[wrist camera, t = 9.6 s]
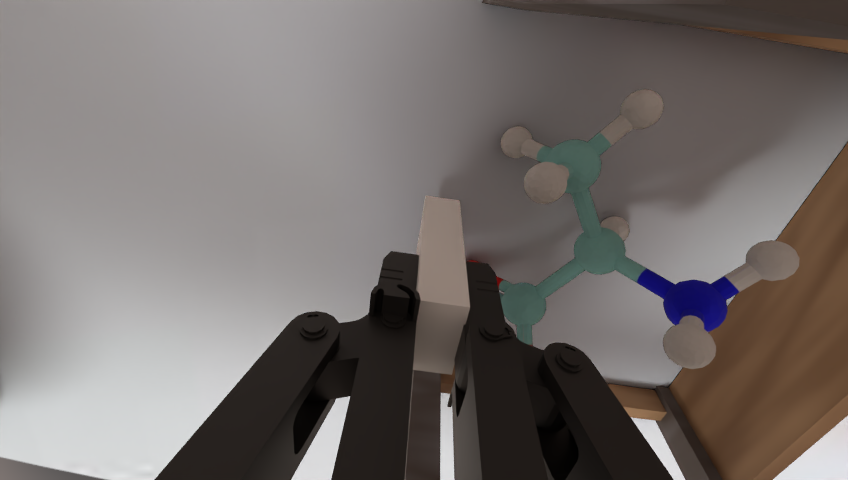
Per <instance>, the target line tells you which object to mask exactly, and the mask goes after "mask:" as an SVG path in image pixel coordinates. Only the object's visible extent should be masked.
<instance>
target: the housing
mask: <svg viewBox="0 0 848 480" xmlns="http://www.w3.org/2000/svg"><path fill="white" fill-rule="evenodd" d="M482 3H486V4H492V5H498V6H504V7H509V8H515V9H521V10H529V11H539V12H550V13H561V14H572V15H583V16H593V17H604V18H615V19H626V20H637V21H647V22H658V23H669V24H679V25H685V26H691V27H696V28H702V29H708V30H714V31H719V32H725V33H731V34H737V35H743V36H748V37H754V38H760V39H766V40H771V41H777V42H783V43H789V44H795V45H800V46H806V47H812V48H818V49H824V50H829V51H835V52H841V53H847V54H848V0H483V2H482ZM776 241H779V242H783V243H786V244H788V245H790V246H791V247H792V248H793V249H794V250H796V252H797V254H798V256H799V267H798V269H797V270H796V272H795V273H794V274H793V275H791V276H789V277H788V278H786V279H783V280H776V281H769V280H764V279H761V280H759V281H758V282H756V283H754V284H753V285H751V286H749V287H747V288H746V289H744V290H742V291H741V292H739V293H738V294H737V295H736V296H735V298H734V299H733V300H732V302H731V303H730V304H729V306H728V307H727V310H728V311H727V315H726V319H725V320H724V321H723V322H722V324H721V325H720V326H719V327H717V328H715V329H714V330H712V331H710V332H709V334H710V335H711V336H712V338H713V340H714V343H715V345H716V354H715V357H714V358H713V360H712V361H711V362H710V363H709V364H708V365H706V366H705V367H703V368H696V369H689V368H685V367H683V369H682V370H681V371H680V373H679V374H678V376H677V377H676V378H675V380H674V381H673V382H672V384H671V385H670V386H669V388H667V387H659V386H657V387H656V389H655V390H651V389H643V388H636V387H628V386H621V385H613V384H608V386H609V387H610V389H611V390H612V392H613V393H614V395H615V396H616V397H617V399H618V400H619V402H620V403H621V405H622V406H623V408H624V409H625V410H626V412H627V413H628V415H629V416H630V417H633V418H641V419H649V420H655V421H656V423H657V425H658V426H659V428H660V430H661V432H662V434H663V436H664V438H665V440H666V442H667V444H668V446H669V448H670V450H671V452H672V454H673V456H674V458H675V460H676V462H677V464H678V466H679V468H680V470H681V472H682V474H683V476H684V478H685V480H773V479H774V478H775V477H776V476H777V475H778V474H780V473H781V472H782V471H783V470H784V469H785V468H787V467H788V466H789V465H790V464H791V463H792V462H794V461H795V460H796V459H797V458H798V457H799V456H801V455H802V454H803V453H804V452H805V451H807V450H808V449H809V448H810V447H811V446H812V445H814V444H815V443H816V442H817V441H818V440H819V439H821V438H822V437H823V436H824V435H825V434H826V433H828V432H829V431H830V430H831V429H832V428H833V427H835V426H836V425H837V424H838V423H839V422H840V421H842V420H843V419H844V418H845V417H846V416H847V415H848V143H847V144H846V146H845V147H844V148H843V150H842V151H841V153H840V154H839V155H838V157H837V158H836V159H835V161H834V162H833V163H832V165H831V166H830V168H829V169H828V170H827V172H826V173H825V174H824V176H823V177H822V179H821V180H820V181H819V183H818V184H817V185H816V187H815V188H814V189H813V191H812V192H811V194H810V195H809V196H808V198H807V199H806V200H805V202H804V203H803V205H802V206H801V207H800V209H799V210H798V211H797V213H796V214H795V215H794V217H793V218H792V220H791V221H790V222H789V224H788V225H787V226H786V228H785V229H784V231H783V232H782V233H781V235H780V236H779V237H778V239H777V240H776ZM454 380H455V365H454V368H453V372H452V375H450V374H442V373H434V372H426V371H419V370H413V375H412V389H411V402H410V415H409V428H408V441H407V454H406V467H405V480H440V397H441V393H449V394H451V390H452V387H453V383H454Z"/></svg>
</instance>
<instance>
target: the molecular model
mask: <svg viewBox="0 0 848 480" xmlns="http://www.w3.org/2000/svg"><path fill="white" fill-rule="evenodd" d="M663 108H664V106H663V100H662V98H661V96H660V95H659V94H657V93H656V92H654V91H652V90H647V89H643V90H638V91H635V92H633V93H631V94H630V95H629V96H627V97H626V99H625V100H624V101H623V103H622V105H621V108H620V116H618V117H617V118H616V119H615V120H614V121H612V122H611V123H610V124H609V125H608V126H606V127H605V128H604V129H603V130H602V131H600V132H599V133H598V134H597V135H595V136H594V137H593V138H592V139H591V140H589V141H588V142H586V141H582V140H567V141H564V142H562V143H560V144H558V145H557V146H555V147H554V148H550V147H548V146H545V145H543V144H541V143H538V142H536V141H533V139H532V135H531V133H530V132H529V131H528V130H527V129H526V128H524V127H520V126H516V127H512V128H510V129H508V130H507V131H506V132H505V133H504V134H503V136H502V139H501V148H502V150H503V152H504V153H505V154H506V155H507V156H508V157H511V158H521V157H523V156H525V155H526V156H528V157H530V158H532V159H534V160H536V161H539V162H541V163H538V164H536V165H534V166H533V167H531V168H530V169H529V170H528V172H527V173H526V175H525V178H524V189H525V192H526V194H527V195H528V196H529V197H530V199H531V200H533V201H535V202H537V203H543V204H547V203H552V202H554V201H556V200H558V199H559V198H560V197H561V196H562V195H563V194H564V193H571V195H572V198H573V201H574V204H575V207H576V210H577V213H578V216H579V219H580V222H581V225H582V228H583V231H584V232H583V233H582V234H581V235H580V236H579V237H578V238H577V240H576V242H575V245H574V255H575V258H574V259H573V260H572V261H570V262H569V263H567V264H566V265H565V266H563V267H562V268H561V269H559V270H558V271H556V272H555V273H554V274H552V275H551V276H549V277H548V278H547V279H545V280H544V281H543V282H541V283H540V284H538V285H537V286H534V285H532V284H529V283H517V284H512V283H510V282H508V281H506V280H503V279H501V278H499V277H497V276H496V279H497V285H498V289H499V290H501V291H503V292H505V293H504V295H503V294H501V293H500V298H501V303H502V308H503V313H504V315H505V317H506V318H507V319H508V320H509V321H510V322H512V323H513V324H515V325H517V339H519V340H520V341H522V342H524V343H526V344H528V345H530V346H533V345H532V325H534V324H536V323H537V322H539V321H540V320H541V319H542V317H543V316H544V314H545V311H546V301H545V298H546V297H548V296H549V295H551V294H552V293H553V292H555V291H556V290H558V289H559V288H561V287H562V286H564V285H565V284H566V283H568V282H569V281H571V280H572V279H574V278H575V277H577V276H578V275H579V274H581V273H582V272H584V271H585V270H586V271H588V272H590V273H593V274H606V273H610V272H612V271H614V270H616V271H618V272H620V273H621V274H623V275H625V276H626V277H628V278H630V279H631V280H633V281H635V282H636V283H638V284H640V285H641V286H643V287H645V288H646V289H648V290H650V291H651V292H653V293H655V294H656V295H658V296H660V297H661V298H663V299H664V302H663V305H664V310H665V313H666V315H667V317H668V319H669V320H670V321H671V322H672V323H673V324H674V325H675V326H673V327H671V328H670V329H669V330H668V331H667V332H666V334H665V336H664V339H663V346H664V351H665V353H666V354H667V356H668V357H669V359H671V360H672V361H673V362H674V363H676V364H677V365H679V366H681V367H685V368H689V369H696V368H703V367H705V366H706V365H708V364H709V363H710V362H711V361H712V360H713V358H714V357H715V354H716V345H715V343H714V340H713V338H712V336H711V335H710V334H709V333H708V332H710V331H712V330H714V329H715V328H717V327H719V326H720V325H721V324H722V322H723V321H724V320H725V319H726V315H727V311H728V310H727V304H726V300H727V299H729V298H731V297H732V296H734V295H736V294H738V293H739V292H741V291H742V290H744V289H746V288H747V287H749V286H751V285H753V284H754V283H756V282H758V281H759V280H761V279H764V280H769V281H776V280H783V279H786V278H788V277H789V276H791V275H793V274H794V273H795V272H796V270H797V269H798V267H799V256H798V254H797V252H796V250H794V249H793V248H792V247H791V246H790V245H788V244H786V243H783V242H779V241H772V240H770V241H764V242H760V243H758V244H756V245H754V246H753V247H751V248H750V249H749V251H748V253H747V254H746V263H745V264H743V265H742V266H740V267H738V268H737V269H735V270H733V271H732V272H730V273H728V274H727V275H725V276H723V277H722V278H720V279H719V280H717V281H715V282H714V283H712V284H709V283H707V282H703V281H698V280H689V281H682V282H679V283H677V284H676V285H675V284H673V283H672V282H670V281H668V280H666V279H665V278H663V277H661V276H659V275H657V274H656V273H654V272H652V271H650V270H649V269H647V268H645V267H643V266H642V265H640V264H638V263H636V262H634V261H633V260H631V259H629V258H627V257H626V256H625V252H626V249H625V245H624V242H623V241H624V240H625V239H626V238H627V237H628V235H629V232H630V229H629V225H628V223H627V222H626V220H624V219H623V218H621V217H617V216H612V217H608V218H606V219H604V220H603V221H602V222H601V224H600V223H599V220H598V216H597V213H596V210H595V207H594V204H593V200H592V197H591V194H590V191H589V187H590V186H591V185H592V184H593V183H594V182H595V181H596V180H597V178H598V176H599V173H600V170H601V160H600V155H601V154H602V153H603V152H605V151H606V150H607V149H608V148H610V147H611V146H612V145H613V144H615V143H616V142H617V141H618V140H620V139H621V138H622V137H623V136H625V135H626V134H627V133H628V132H630V131H631V130H632V129H644V128H647V127H650V126H652V125H653V124H655V123H656V122H657V121H658V120H659V119H660V117H661V115H662V112H663ZM469 261H471V262H478V261H474V260H469ZM478 263H480V262H478Z"/></svg>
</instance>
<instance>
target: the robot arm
mask: <svg viewBox="0 0 848 480" xmlns="http://www.w3.org/2000/svg"><path fill="white" fill-rule="evenodd" d="M454 365H455V380H454V383H453V387H452V390H451V394H450V398H449V401H448V406H447V407H451V406H452V408H453V443H454V478H455V480H673V478H672V477H671V475H670V474H669V472H668V471H667V469H666V468H665V467H664V465H663V464H662V462H661V461H660V459H659V458H658V457H657V455H656V454H655V452H654V451H653V449H652V448H651V446H650V445H649V444H648V442H647V441H646V439H645V438H644V436H643V435H642V433H641V432H640V431H639V429H638V428H637V426H636V425H635V423H634V422H633V420H632V419H631V418H630V416H629V415H628V413H627V412H626V410H625V409H624V408H623V406H622V405H621V403H620V402H619V400H618V399H617V397H616V396H615V395H614V393H613V392H612V390H611V389H610V387H609V386H608V384H607V383H606V382H605V380H604V379H603V377H602V376H601V374H600V373H599V371H598V370H597V369H596V367H595V366H594V364H593V363H592V361H591V360H590V359H589V358H588V357H587V356H586V355H585V353H584V352H582V351H581V350H579V349H578V348H576V347H574V346H571V345H569V344H566V343H553V344H549V345H548V346H547V347H546V348H545V350H544V351H543V350H541V349H538V348H536V347H533V346H530V345H528V344H526V343H524V342H522V341H520V340H519V339H517V338H516V335H515V333H514V331H513V329H512V328H511V327H510V326H509V325H508V324H507V323H506V322H505V318H504V313H503V308H502V303H501V298H500V293H499V289H498V285H497V279H496V274H495V272H494V271H493V270H492V268H491V267H490V266H489V265H488V264H485V263H478V262H471V261H466V259H465V249H464V239H463V228H462V218H461V208H460V201H459V200H453V199H446V198H439V197H432V196H426V195H425V201H424V207H423V214H422V220H421V226H420V232H419V239H418V245H417V251H416V255H415V254H408V253H401V252H393V251H391V252H390V253H389V254H388V255H387V256H386V257H385V258H384V259H383V264H382V268H381V273H380V278H379V282H378V285H377V286H375V287H374V289H373V290H372V292H371V299H370V309H369V313H368V315H366V316H365V317H363V318H361V319H359V320H356V321H352V322H345V323H339V322H338V321H337V320H336V319H335V318H334V317H333V316H331V315H329V314H327V313H324V312H318V311H316V312H307V313H304V314H301V315H299V316H297V317H296V318H295V319H293V320H292V321H291V322H290V323H289V324H288V325H287V326H286V328H285V329H284V330H283V331H282V332H281V333H280V335H279V336H278V337H277V338H276V339H275V340H274V342H273V343H272V344H271V345H270V346H269V347H268V349H267V350H266V351H265V352H264V353H263V354H262V355H261V357H260V358H259V359H258V360H257V361H256V362H255V364H254V365H253V366H252V367H251V368H250V369H249V371H248V372H247V373H246V374H245V375H244V376H243V378H242V379H241V380H240V381H239V382H238V383H237V385H236V386H235V387H234V388H233V389H232V390H231V391H230V393H229V394H228V395H227V396H226V397H225V398H224V400H223V401H222V402H221V403H220V404H219V405H218V407H217V408H216V409H215V410H214V411H213V412H212V414H211V415H210V416H209V417H208V418H207V419H206V421H205V422H204V423H203V424H202V425H201V426H200V427H199V429H198V430H197V431H196V432H195V433H194V434H193V436H192V437H191V438H190V439H189V440H188V441H187V443H186V444H185V445H184V446H183V447H182V448H181V450H180V451H179V452H178V453H177V454H176V455H175V457H174V458H173V459H172V460H171V461H170V462H169V463H168V465H167V466H166V467H165V468H164V469H163V470H162V472H161V473H160V474H159V475H158V476H157V477H156V479H155V480H291V478H292V477H293V475H294V473H295V471H296V470H297V468H298V466H299V464H300V462H301V461H302V459H303V457H304V455H305V454H306V452H307V450H308V448H309V447H310V445H311V443H312V441H313V439H314V438H315V436H316V434H317V432H318V431H319V429H320V427H321V425H322V423H323V422H324V420H325V418H326V416H327V415H328V413H329V411H330V409H331V408H332V406H333V404H334V402H335V399H336V398H342V397H347V396H350V401H349V405H348V409H347V414H346V418H345V422H344V427H343V431H342V435H341V440H340V444H339V449H338V453H337V457H336V462H335V466H334V470H333V475H332V479H331V480H405V467H406V454H407V441H408V428H409V415H410V402H411V389H412V375H413V370H419V371H426V372H434V373H442V374H450V375H452V372H453V368H454Z"/></svg>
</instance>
